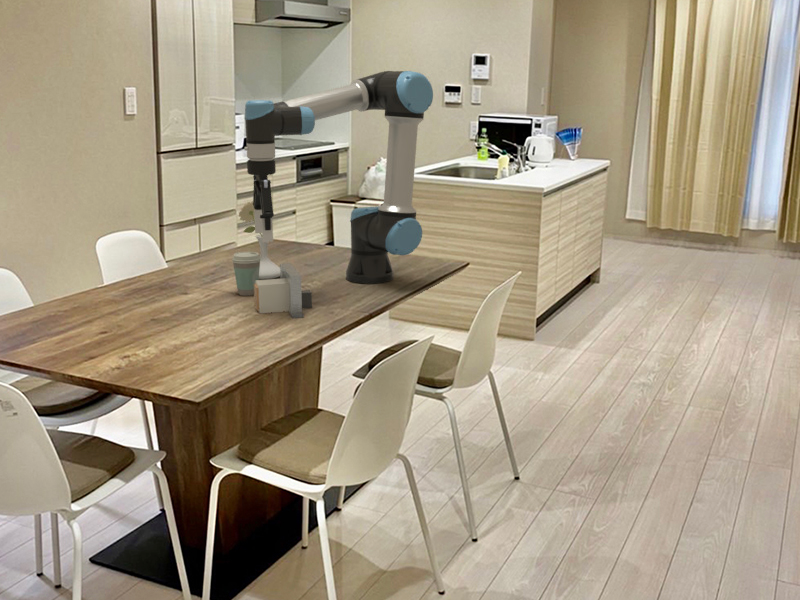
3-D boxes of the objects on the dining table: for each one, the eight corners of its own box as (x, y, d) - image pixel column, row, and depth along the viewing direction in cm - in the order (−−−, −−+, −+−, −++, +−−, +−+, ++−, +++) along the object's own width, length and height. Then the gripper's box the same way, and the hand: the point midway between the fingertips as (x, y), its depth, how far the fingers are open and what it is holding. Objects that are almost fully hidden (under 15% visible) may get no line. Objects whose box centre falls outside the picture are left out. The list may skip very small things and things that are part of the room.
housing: (290, 298, 260) (288, 261, 257) (303, 317, 241) (302, 277, 238) (279, 299, 259) (278, 261, 256) (292, 318, 240) (291, 278, 237)
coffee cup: (256, 297, 261) (254, 257, 258) (229, 296, 263) (227, 256, 260) (266, 290, 269) (264, 251, 266) (239, 289, 271) (238, 250, 268)
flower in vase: (279, 272, 292) (276, 197, 285) (285, 280, 281) (283, 202, 275) (239, 275, 288) (235, 199, 281) (244, 283, 277) (241, 204, 271)
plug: (308, 303, 255) (308, 276, 252) (313, 309, 249) (312, 281, 247) (254, 308, 250) (253, 280, 248) (257, 313, 245) (256, 285, 242)
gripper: (241, 154, 248) (244, 229, 253) (253, 164, 225) (256, 246, 230) (267, 154, 250) (270, 228, 255) (283, 163, 227) (285, 245, 232)
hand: (263, 237), depth 243 cm, fingers open, 13 cm apart
